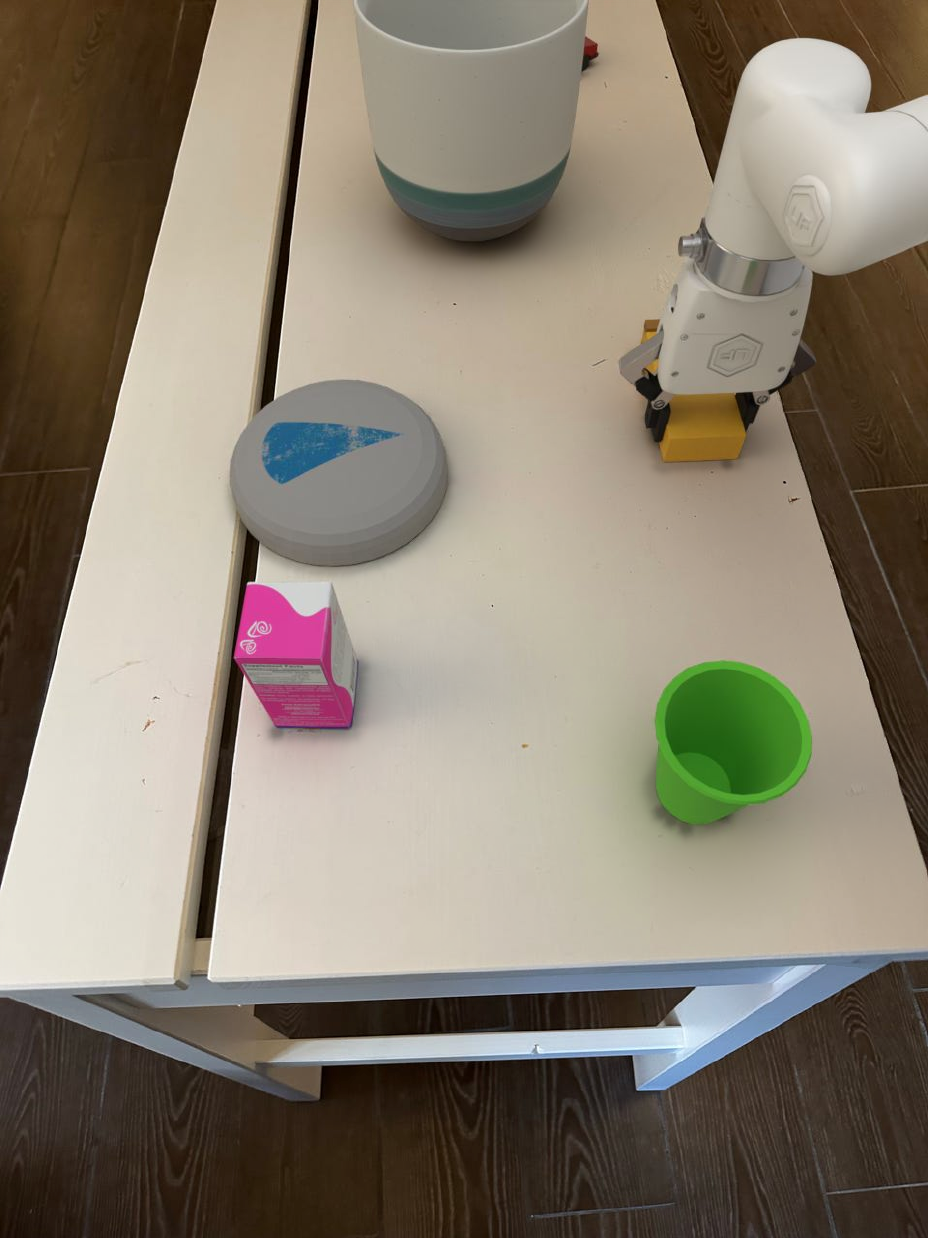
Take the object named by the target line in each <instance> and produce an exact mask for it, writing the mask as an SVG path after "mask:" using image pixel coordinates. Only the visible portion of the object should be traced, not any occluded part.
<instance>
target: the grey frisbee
mask: <svg viewBox="0 0 928 1238" xmlns="http://www.w3.org/2000/svg"><path fill="white" fill-rule="evenodd" d="M446 452H447V451H446V448H445V445H444V442H443V439H442V437H441V434H440V431H439V429H438V427H437V426H436V425H435V423H434V421H433V419H432V418H431V416H429V414H428V413H427V412H426V411H425V410H424V409H423V408H422V407H421V406H420V405H419V404H417V403H416V402H414V401H413V400H411V399H410V397H407V396H406V395H405V394H402V393H400V392H398V391H397V390H394V389H392V388H390V387H387V386H385V385H383V384H379V383H375V382H372V381H366V380H360V379H334V380H323V381H318V382H314V383H309V384H305V385H303V386H300V387H297V388H294V389H291V390H290V391H287V392H285V393H284V394H282V395H279V396H277V397H276V398H275V399H273V400H272V401H270V402H269V403H267V404H266V405H265V406H263V408H261V409H260V411H258V412H257V413H256V414H254V416H253V417H252V419H251V420H250V421H249V422H248V424H247V425H246V426H245V428H244V429H243V430H242V432H241V433H240V435H239V437H238V439H237V441H236V443H235V445H234V447H233V451H232V455H231V458H230V465H229V484H230V491H231V496H232V500H233V503H234V506H235V508H236V510H237V512H238V515H239V516H240V519H241V522H242V523H243V525H244V526H245V527H246V529H247V530H248V532H249V533H250V534H251V535H252V536H253V537H254V538H255V539H256V540H257V541H258V542H259V543H260V544H262V545H263V546H264V547H266V548H268V549H269V550H271V551H272V552H274V553H276V554H278V555H280V556H282V557H285V558H287V559H289V560H292V561H295V562H299V563H304V564H309V565H313V566H325V567H326V566H327V567H339V566H350V565H357V564H360V563H366V562H369V561H374V560H376V559H378V558H381V557H383V556H386V555H388V554H392V553H393V552H395V551H396V550H398V549H400V548H402V547H403V546H405V545H407V544H408V543H409V542H410V541H412V540H413V539H414V538H416V537H417V536H418V535H419V534H420V533H422V532H423V531H424V529H425V528H426V527H427V526H428V525H429V523H431V521H432V520H433V519H434V517H435V516H436V514H437V512H438V511H439V509H440V507H441V505H442V503H443V500H444V497H445V495H446V491H447V486H448V485H447V484H448V478H449V471H448V469H449V467H448V459H447V453H446Z"/></svg>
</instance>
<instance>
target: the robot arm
mask: <svg viewBox="0 0 928 1238" xmlns="http://www.w3.org/2000/svg"><path fill="white" fill-rule="evenodd" d="M871 91H872V79H871V74H870V71H869V69H868V67H867V65H866V64H865V62H864V61H863V59H861V57H860V56H858V55H857V53H856V52H854V51H852V50H851V49H849V48H847V47H846V46H843V45H841V44H839V43H835V42H834V41H833V42H832V41H829V40H824V39H819V38H810V37H796V38H788V39H782V40H780V41H775V42H774V43H772V44H770V45H767V46H766V47H763V48H762V49H761V50H759V51H758V52H756V54H755V55H753V57H752V58H751V59H750V60H749V62H748V63H747V65H745V68H744V69H743V72H742V73H741V77H740V80H739V84H738V86H737V89H736V93H735V97H734V102H733V105H732V109H731V113H730V117H729V120H728V124H727V130H726V133H725V137H724V141H723V145H722V149H721V153H720V156H719V161H718V165H717V169H716V172H715V177H714V181H713V183H712V188H711V192H710V195H709V200H708V205H707V208H706V212H705V216H704V217H701V220H700V224H699V228H698V229H697V230H696V232H695V233H690V234H689V235H681V236H680V237H679V239H678V242H677V243H678V244H677V253H678V256H679V257H680V258H682V257H685V259H684V261H683V262H682V265H681V267H680V269H679V270H678V272H677V275H676V277H675V278H674V280H673V284H672V286H671V288H670V290H669V293H668V295H667V298H666V300H665V303H664V306H663V310H662V313H661V316H660V318H659V319H660V322H659V325H658V328H657V332H656V335H654V336H653V337H651V338H650V339H648V340H647V341H645V342H644V343H642V344H641V343H640V344H641V345H640V344H639V345H638V346H636V347H635V348H633V349H632V350H630V351H629V352H627V353H625V354H624V355H622V357H620V358H619V359H618V361H617V362H618V369H619V372H620V375H621V377H623V378H624V379H625V380H626V381H627V382H628V383H630V384H631V385H633V386H634V387H635V390H636V391H637V392H638V393H639V394H640V395H642V396H643V397H644V398H645V399H646V400H647V403H646V408H645V411H644V424H645V428H646V429H650V430H651V433H652V439H653V442H654V443H659V442H661V441H662V440H663V436H664V433H665V429H666V425H667V424H668V421H669V417H670V413H671V408H670V404H669V402H670V400H671V399H672V398H673V397H674V396H675V395H676V394H679V395H689V394H718V393H735V398H736V402H737V405H738V409H739V412H740V416H741V419H742V421H743V425H744V428H745V432H746V433H747V432H748V429H749V427H750V425H752V424H754V422H755V420H756V418H757V415H758V413H759V410H760V407H761V406H762V405H766V404H767V403H769V401H770V400H771V395H773V394H775V393H776V392H778V391H780V390H781V389H783V388H785V387H786V386H788V385H790V383H792V381H793V379H794V378H797V377H799V376H800V375H801V374H803V373H805V372H807V371H808V370H810V369H811V368H813V367H814V366H815V365H816V364H817V360H816V357H815V353H814V352H813V349H812V348H811V347H810V346H809V345H808V344H807V343H806V341H804V339H802V338H801V337H802V334H803V330H804V327H805V321H806V317H807V313H808V310H809V304H810V298H811V293H812V292H811V291H812V286H813V278H814V274H813V273H816V274H819V275H822V276H832V277H833V276H840V275H846V274H850V273H853V272H857V271H859V270H861V269H865V268H866V267H868V266H871V265H874V264H877V263H878V262H881V261H883V260H886V259H889V258H891V257H893V256H895V255H898V254H901V253H903V252H905V251H906V250H908V249H911V248H914V247H916V246H918V245H921V244H923V243H926V242H928V94H925V95H923V96H920V97H917V98H914V99H911V100H910V101H907V102H904V103H902V104H899V105H896V106H893V107H890V108H887V109H885V110H883V111H875V112H866V110H867V108H868V105H869V101H870V96H871ZM657 359H659V361H658V368H657V369H656V370H655V371H654V373H653V374H652V373H651V372H650V371H648V370H647V369H646V368H645V367H646V366H648V365H649V364H651V363H653V362H654V361H656V360H657Z"/></svg>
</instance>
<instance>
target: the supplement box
mask: <svg viewBox="0 0 928 1238" xmlns="http://www.w3.org/2000/svg"><path fill="white" fill-rule="evenodd" d="M335 590H336V589H335V587H334V584H333V582H332V581H298V582H295V581H293V582H292V581H287V582H286V581H248V582H247V583H246V588H245V594H244V598H243V604H242V610H241V615H240V621H239V627H238V633H237V638H236V645H235V648H234V649H235V650H234V654H233V655H234V656H233V659H234V661H235V662H236V664H237V665H238V667H239V669H240V670H241V672H242V674H243V675H244V678H245V680H247V682H248V684H249V685H250V688H251V689H252V690H253V692H254V693H255V695H256V697H257V699H258V701H259V702H260V703H261V705H262V707H263V708H264V710H265V712H266V713H267V715H268V717H269V719H270V720H271V721H272V723H273V725H274V727H275V728H279V729H281V728H285V729H325V730H326V729H328V730H330V729H331V730H332V729H333V730H335V729H336V730H351V729H352V727H353V719H354V712H355V704H356V694H357V683H358V673H359V659H358V657H357V655H356V652H355V649H354V646H353V643H352V639H351V637H350V632H349V630H348V626H347V623H346V622H345V617H344V614H343V612H342V608H341V606H340V603H339V599H338V597H337V594H336V591H335Z"/></svg>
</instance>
